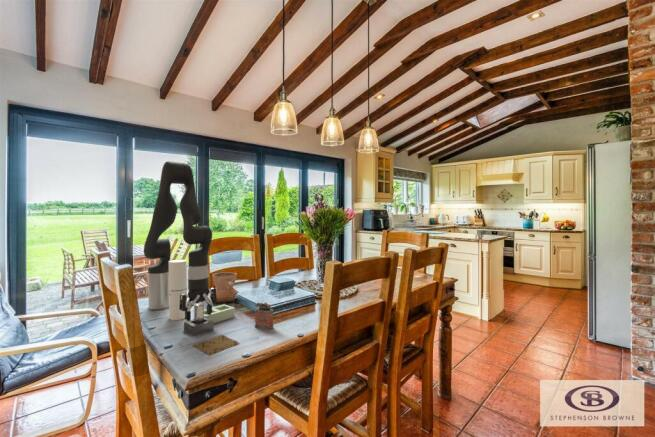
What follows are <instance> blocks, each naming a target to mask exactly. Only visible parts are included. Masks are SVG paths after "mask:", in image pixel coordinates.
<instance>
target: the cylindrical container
mask: <svg viewBox="0 0 655 437" xmlns="http://www.w3.org/2000/svg"><path fill="white" fill-rule="evenodd" d="M187 261H188V260H186V259H173V260H170V261H169V307H168V316H169V317H168V318H169V320H171V321H177V320H183V319H185V311H182V310H180V309H179V306H180V295H181V294H183V295H185V294H188V268H187V266H188V265H187ZM187 302H188V299H187V300H186V305H187Z"/></svg>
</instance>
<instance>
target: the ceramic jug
mask: <svg viewBox="0 0 655 437" xmlns="http://www.w3.org/2000/svg"><path fill="white" fill-rule="evenodd" d="M211 277H212V282H213V284H214V287H215V289H216V297H217V302H216V303H218V304H227V303H231V302H233V301H235V295H236V294H237V293H239V294H240V292H239V291H238V289H236V288H234V285H235V283H236V280H237V272H229V271H228V272H227V271H225V272H224V271H223V272H222V271H221V272H216V273H213V274H212V276H211ZM209 299H210V300H211V296H210V295H209Z"/></svg>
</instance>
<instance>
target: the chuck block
mask: <svg viewBox="0 0 655 437" xmlns="http://www.w3.org/2000/svg"><path fill="white" fill-rule="evenodd" d="M214 324H215V323H214V321H213V320H210V319H208V318H206V317H204V322H203V323H200V324H197V325H196V324H194V318H191V321H187V320H185V321H183V331H184V332H186V333H188V334H190V335H192V336H194V337H196V336H199V335H202V334H204V333H207V332H210V331H214V328H215V326H214Z"/></svg>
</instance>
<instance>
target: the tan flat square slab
mask: <svg viewBox="0 0 655 437" xmlns="http://www.w3.org/2000/svg"><path fill="white" fill-rule="evenodd" d="M238 345H240V343H239V341H237V340H234V339H232V338H230V337H228V336H226V335H224V334H221V335H218V336H217V335H216V336H215V337H212V338H210V339H209V338H208V339H205V340H203V341H200V342H197V343H194V344H192V345H191V346H192V347H193V348H195V349H197V350H198V351H200V352H202V353H204V354H205V355H208V356H213V355H214V354H217V353H218V354H219V353H220V352H223V351H225V350H228V349H230V348H232V347H235V346H238Z"/></svg>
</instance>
